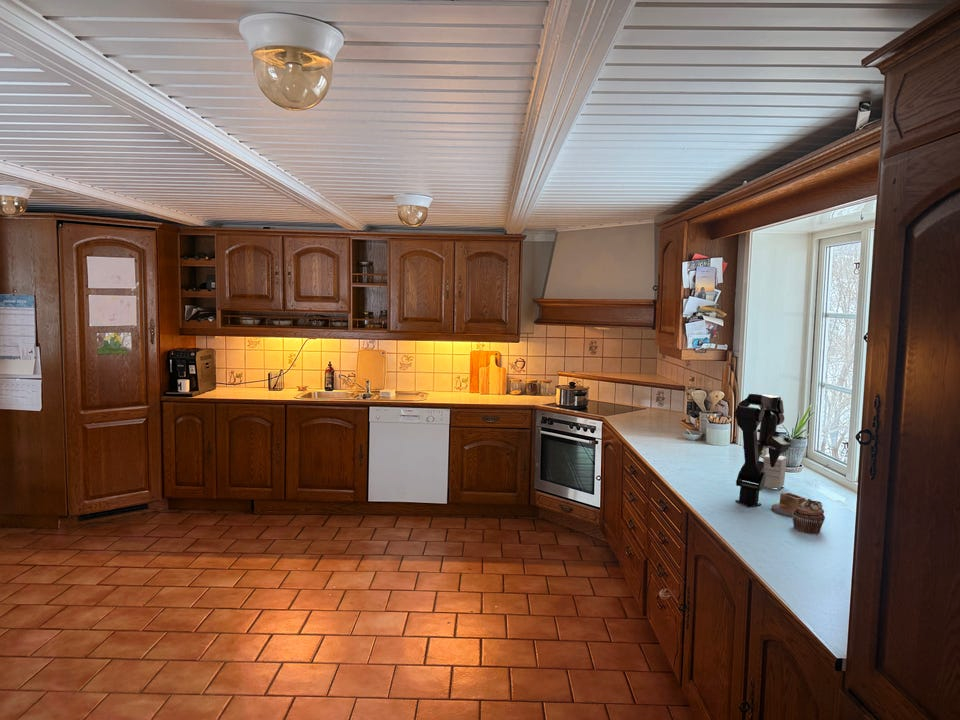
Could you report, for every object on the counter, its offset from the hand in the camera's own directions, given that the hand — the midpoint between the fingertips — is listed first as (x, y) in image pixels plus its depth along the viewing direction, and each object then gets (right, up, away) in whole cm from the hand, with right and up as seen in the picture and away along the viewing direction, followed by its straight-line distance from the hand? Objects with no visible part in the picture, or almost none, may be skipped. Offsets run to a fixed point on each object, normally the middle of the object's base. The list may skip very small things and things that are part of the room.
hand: (763, 467), depth 253 cm
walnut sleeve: (+2, -12, -18) cm, 21 cm away
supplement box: (+10, -10, +16) cm, 21 cm away
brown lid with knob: (+2, -13, -18) cm, 22 cm away
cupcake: (-1, -15, -36) cm, 39 cm away
